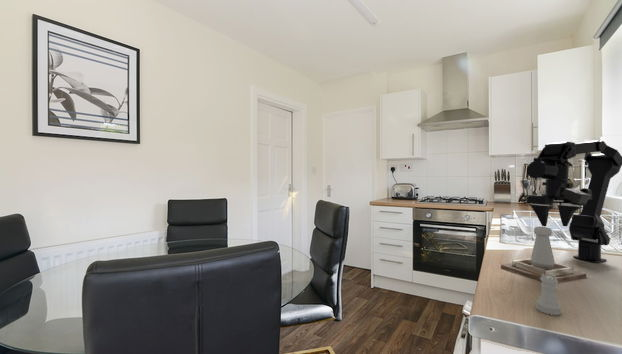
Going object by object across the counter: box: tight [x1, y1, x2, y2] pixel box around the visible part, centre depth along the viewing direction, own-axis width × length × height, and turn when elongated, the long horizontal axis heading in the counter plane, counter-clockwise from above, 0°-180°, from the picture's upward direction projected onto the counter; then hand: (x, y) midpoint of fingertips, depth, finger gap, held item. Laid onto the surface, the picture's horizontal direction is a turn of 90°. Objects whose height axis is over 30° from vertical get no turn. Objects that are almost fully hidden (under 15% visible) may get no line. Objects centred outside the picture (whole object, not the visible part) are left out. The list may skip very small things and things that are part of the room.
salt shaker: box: [530, 226, 556, 271], centre depth 88 cm, size 6×6×13 cm
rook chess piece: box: [535, 274, 563, 316], centre depth 63 cm, size 4×4×8 cm
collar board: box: [500, 257, 587, 283], centre depth 88 cm, size 16×14×2 cm
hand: (554, 226), depth 95 cm, fingers open, 9 cm apart
